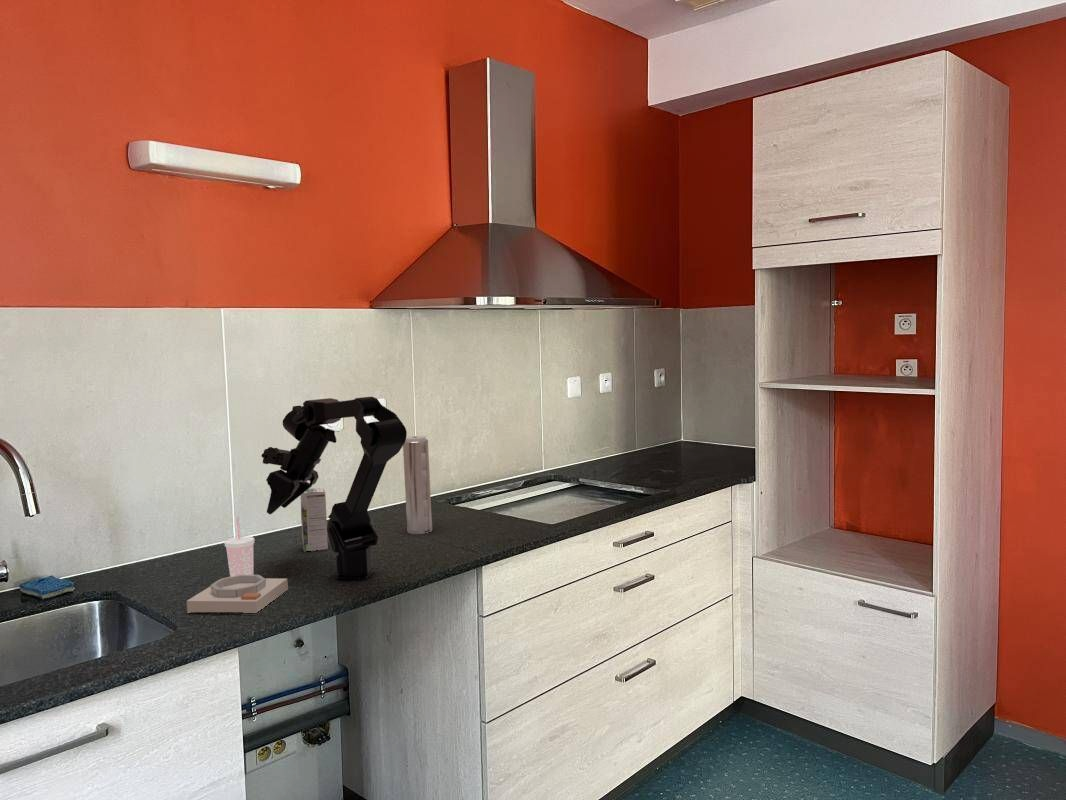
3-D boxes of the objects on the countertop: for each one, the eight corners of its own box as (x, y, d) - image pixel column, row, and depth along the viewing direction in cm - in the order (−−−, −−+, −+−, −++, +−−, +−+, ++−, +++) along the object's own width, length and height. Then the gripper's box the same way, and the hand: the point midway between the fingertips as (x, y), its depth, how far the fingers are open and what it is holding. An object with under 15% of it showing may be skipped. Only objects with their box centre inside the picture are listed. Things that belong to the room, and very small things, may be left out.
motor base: (288, 590, 168) (286, 571, 168) (257, 614, 154) (255, 593, 154) (224, 590, 170) (222, 571, 170) (187, 613, 156) (186, 593, 156)
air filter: (408, 535, 210) (404, 439, 208) (405, 529, 216) (401, 436, 214) (434, 533, 212) (429, 437, 209) (430, 527, 218) (425, 434, 216)
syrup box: (302, 547, 202) (298, 489, 201) (326, 544, 204) (323, 486, 203) (304, 552, 197) (300, 493, 196) (329, 549, 199) (325, 490, 198)
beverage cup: (231, 587, 172) (227, 522, 170) (223, 580, 177) (219, 517, 175) (261, 581, 175) (256, 517, 174) (252, 575, 180) (247, 512, 179)
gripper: (291, 430, 194) (260, 486, 194) (263, 435, 175) (228, 498, 176) (332, 453, 193) (300, 510, 194) (308, 461, 175) (273, 524, 175)
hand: (275, 510), depth 185 cm, fingers open, 9 cm apart
